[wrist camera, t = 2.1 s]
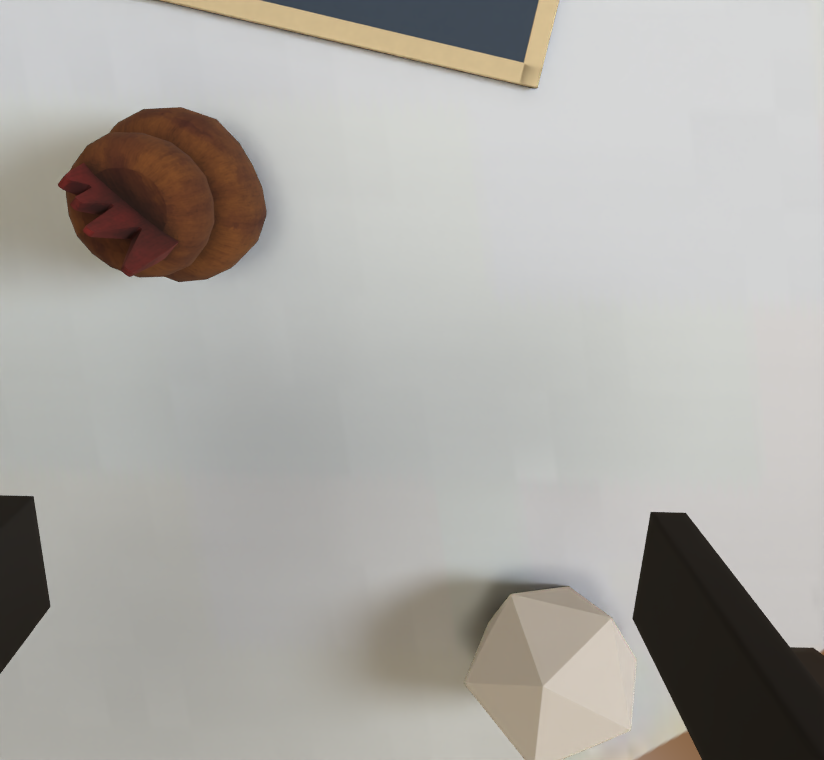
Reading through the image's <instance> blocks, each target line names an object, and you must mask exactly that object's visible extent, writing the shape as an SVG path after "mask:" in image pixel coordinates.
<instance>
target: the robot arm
mask: <svg viewBox="0 0 824 760" xmlns="http://www.w3.org/2000/svg"><path fill="white" fill-rule="evenodd" d="M49 608H50V601H49V594H48V588H47V581H46V575H45V568H44V562H43V555H42V549H41V542H40V536H39V529H38V523H37V516H36V510H35V503H34V496H0V673H1V672H2V671H3V669H4V668H5V667H6V665H7V664H8V663H9V661H10V660H11V659H12V657H13V656H14V655H15V653H16V652H17V651H18V649H19V648H20V647H21V645H22V644H23V643H24V641H25V640H26V639H27V637H28V636H29V635H30V633H31V632H32V631H33V629H34V628H35V626H36V625H37V624H38V622H39V621H40V620H41V618H42V617H43V616H44V614H45V613H46V612H47V610H48V609H49ZM633 620H634V622H635V624H636V626H637V628H638V630H639V632H640V634H641V637H642V639H643V641H644V643H645V645H646V647H647V649H648V651H649V653H650V655H651V657H652V659H653V661H654V663H655V665H656V667H657V669H658V671H659V673H660V675H661V677H662V679H663V681H664V683H665V685H666V687H667V689H668V691H669V693H670V695H671V697H672V699H673V702H674V704H675V706H676V708H677V710H678V712H679V714H680V716H681V718H682V720H683V722H684V724H685V726H686V728H687V730H688V732H689V734H690V736H691V738H692V740H693V742H694V744H695V746H696V748H697V750H698V752H699V754H700V756H701V758H702V760H824V655H822V654H821V653H820V652H818V651H817V650H815V649H814V648H792V647H789V646H788V644H787V643H786V642H785V640H784V639H783V638H782V636H781V635H780V634H779V633H778V631H777V630H776V629H775V627H774V626H773V625H772V624H771V622H770V621H769V620H768V618H767V617H766V616H765V615H764V613H763V612H762V611H761V609H760V608H759V607H758V606H757V604H756V603H755V602H754V600H753V599H752V598H751V596H750V595H749V594H748V593H747V591H746V590H745V589H744V587H743V586H742V585H741V584H740V582H739V581H738V580H737V578H736V577H735V576H734V575H733V573H732V572H731V571H730V569H729V568H728V567H727V565H726V564H725V563H724V562H723V560H722V559H721V558H720V556H719V555H718V554H717V553H716V551H715V550H714V549H713V547H712V546H711V545H710V544H709V542H708V541H707V540H706V538H705V537H704V536H703V535H702V533H701V532H700V531H699V529H698V528H697V527H696V525H695V524H694V523H693V522H692V520H691V519H690V518H689V516H688V515H687V514H686V513H669V512H651V514H650V520H649V526H648V531H647V537H646V543H645V549H644V555H643V561H642V567H641V572H640V578H639V584H638V590H637V596H636V602H635V608H634V613H633Z"/></svg>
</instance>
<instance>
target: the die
mask: <svg viewBox="0 0 824 760" xmlns="http://www.w3.org/2000/svg"><path fill="white" fill-rule="evenodd" d="M636 664H637V660H636V658H635V656H634V654H633V653H632V651H631V649H630V648H629V646H628V644H627V643H626V641H625V639H624V638H623V636H622V634H621V632H620V631H619V629H618V627H617V626H616V624H615V622H614V621H613V619H612V617H610V616H609V615H607V614H606V613H605V612H603V611H602V610H601V609H599V608H598V607H596V606H595V605H594V604H592V603H591V602H590V601H588V600H587V599H585V598H584V597H583V596H581V595H580V594H579V593H577V592H576V591H574V590H573V589H572V588H570V587H569V586H567V587H559V588H551V589H543V590H536V591H528V592H520V593H513V594H510V595H509V596H508V598H507V599H506V600H505V602H504V603H503V604H502V605H501V607H500V608H499V609H498V611H497V612H496V613H495V615H494V616H493V617H492V618H491V620H490V621H489V622H488V624H487V627H486V629H485V632H484V634H483V637H482V639H481V642H480V644H479V647H478V649H477V651H476V654H475V656H474V659H473V661H472V664H471V666H470V669H469V671H468V674H467V676H466V679H465V681H464V684H465V685H466V687H467V688H468V689H469V690H470V692H471V693H472V694H473V695H474V697H475V698H476V699H477V700H478V702H479V703H480V704H481V705H482V707H483V708H484V709H485V710H486V712H487V713H488V714H489V715H490V717H491V718H492V719H493V720H494V722H495V723H496V724H497V725H498V727H499V728H500V729H501V730H502V732H503V733H504V734H505V735H506V737H507V738H508V739H509V740H510V742H511V743H512V744H513V745H514V747H515V748H516V749H517V750H518V752H519V753H520V754H521V755H522V757H523V758H524V759H525V760H561V759H564V758H566V757H569V756H571V755H574V754H576V753H579V752H581V751H584V750H586V749H589V748H591V747H594V746H596V745H598V744H601V743H603V742H605V741H607V740H610V739H612V738H614V737H617V736H619V735H621V734H624V733H626V732H628V731H631V723H632V711H633V699H634V687H635V676H636Z"/></svg>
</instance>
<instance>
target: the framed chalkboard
mask: <svg viewBox="0 0 824 760" xmlns="http://www.w3.org/2000/svg"><path fill="white" fill-rule="evenodd" d="M160 1H164V2H168V3H173V4H177V5H181V6H185V7H190V8H194V9H198V10H203V11H207V12H211V13H215V14H220V15H224V16H228V17H232V18H237V19H241V20H245V21H249V22H254V23H258V24H262V25H266V26H271V27H275V28H279V29H283V30H288V31H292V32H296V33H301V34H305V35H309V36H313V37H318V38H322V39H326V40H330V41H335V42H339V43H343V44H347V45H352V46H356V47H360V48H364V49H369V50H373V51H377V52H381V53H386V54H390V55H394V56H399V57H403V58H407V59H411V60H416V61H420V62H424V63H428V64H433V65H437V66H441V67H445V68H450V69H454V70H458V71H462V72H467V73H471V74H475V75H479V76H484V77H488V78H492V79H496V80H501V81H505V82H509V83H514V84H518V85H522V86H526V87H531V88H537V87H538V83H539V79H540V75H541V71H542V67H543V63H544V59H545V55H546V51H547V47H548V43H549V39H550V35H551V31H552V27H553V23H554V19H555V15H556V11H557V7H558V3H559V0H160Z"/></svg>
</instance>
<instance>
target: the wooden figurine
mask: <svg viewBox="0 0 824 760" xmlns="http://www.w3.org/2000/svg"><path fill="white" fill-rule="evenodd" d="M58 186H59V187H60V188H61V189H63V190H65V191H66V198H67V205H68V212H69V217H70V219H71V222H72V224H73V227H74V229H75V232H76V234H77V237H78V238H79V239H80V240H81V241H82V242H83V243H84V245H85V246H86V247H87V248H88V249H89V250H90V251H91V253H92V254H94V255H95V256H96V257H98V258H99V259H101V260H102V261H103V262H105V263H106V264H107V265H109V266H110V267H112V268H115V269H118V270H120V271H122V272H123V273H124V274H126V275H127V276H129V277H131V276H133V275H134V276H137V277H167V278H170V279H172V280H175V281H178V282H183V281H194V280H204V279H208V278H210V277H213V276H215V275H217V274H219V273H221V272H223V271H225V270H228V269H230V268H231V267H233V266H234V265H235V264H236V263H237V262H238V261H239V260H240V259H241V258H242V257H243V256H244V255H245V254H246V253H247V252H248V251H249V250H250V249H251V248H252V247H253V246H254V245H255V243H256V242H257V241H258V239H259V236H260V233H261V230H262V227H263V224H264V221H265V218H266V212H267V211H266V206H265V200H264V195H263V190H262V186H261V184H260V181H259V179H258V177H257V175H256V172H255V170H254V168H253V165H252V164H251V162H250V160H249V159H248V157H247V155H246V154H245V152H244V150H243V148H242V147H241V145H240V143H239V142H238V141H237V140H236V139H235V138H234V137H233V136H232V135H231V134H230V133H229V132H228V131H227V130H226V129H225V128H224V127H223V126H222V125H221V124H220V123H219V121H218V120H217V119H214V118H211V117H208V116H205V115H202V114H199V113H196V112H193V111H191V110H187V109H184V108H181V107H178V108H158V109H143V110H141V111H139V112H137V113H135V114H133V115H132V116H130V117H128V118H126V119H124V120H122V121H120V122H118V123H117V124H116V125H115V126H114V127H113V129H112V130H111V132H110V133H108V134H107V135H105V136H103V137H101V138H100V139H98V140H96V141H94V142H93V143H91V144H89V145H87V146H86V148H85V149H84V151H83V152H82V153H81V155H80V156H79V158H78V159H77V160H76V162H75V163H74V164H73V166H72V168H71V170H70V171H69V172H68V173H67V174H66V175H65V176H64V177H63V178H62V180H61V181H60V182H59V183H58Z"/></svg>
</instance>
